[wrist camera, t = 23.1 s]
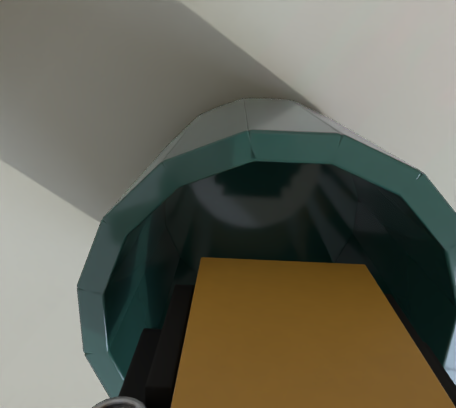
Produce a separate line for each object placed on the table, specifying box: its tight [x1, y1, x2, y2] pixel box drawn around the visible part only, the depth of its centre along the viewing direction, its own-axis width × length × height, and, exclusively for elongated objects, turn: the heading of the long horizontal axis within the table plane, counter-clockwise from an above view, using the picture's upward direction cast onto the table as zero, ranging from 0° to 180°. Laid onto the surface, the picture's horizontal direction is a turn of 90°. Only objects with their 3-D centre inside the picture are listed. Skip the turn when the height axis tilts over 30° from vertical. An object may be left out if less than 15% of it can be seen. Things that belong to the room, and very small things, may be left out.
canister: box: [77, 98, 456, 398], centre depth 17 cm, size 12×12×10 cm
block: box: [171, 257, 456, 408], centre depth 9 cm, size 5×5×6 cm
